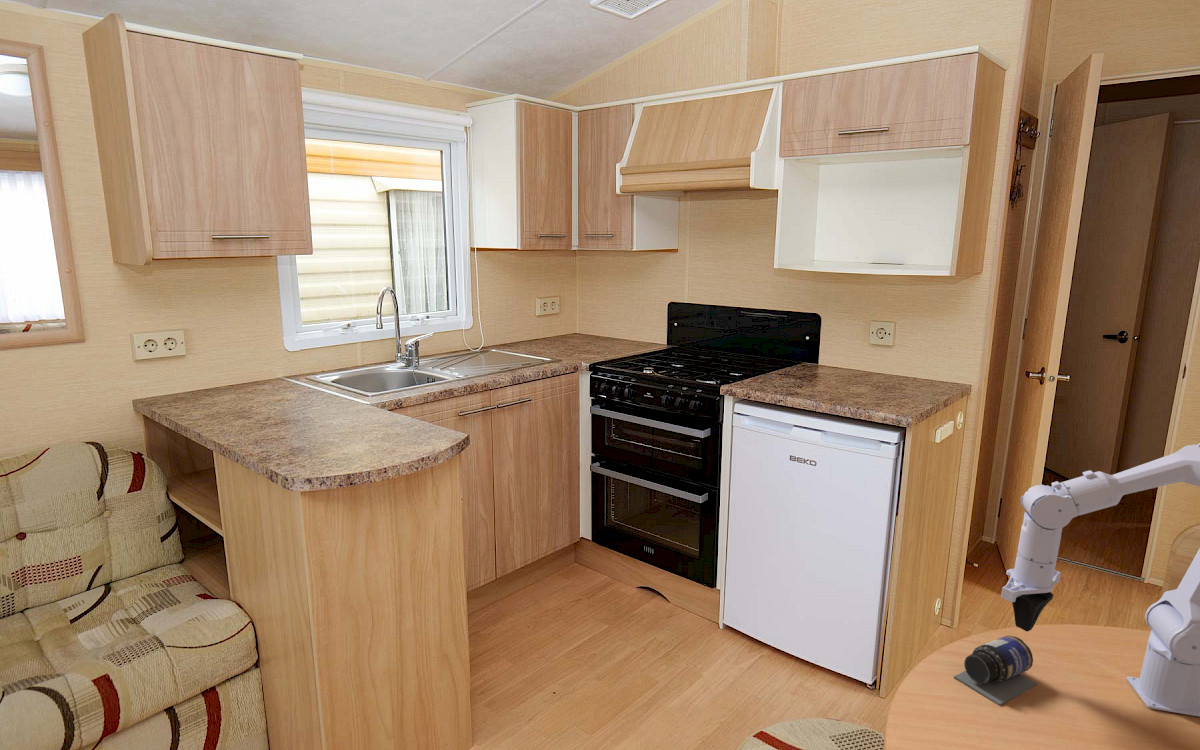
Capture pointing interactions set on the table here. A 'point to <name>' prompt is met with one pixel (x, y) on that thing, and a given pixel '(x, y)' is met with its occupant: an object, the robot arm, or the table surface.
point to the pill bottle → (998, 660)
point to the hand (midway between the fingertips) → (1023, 627)
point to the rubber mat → (998, 687)
